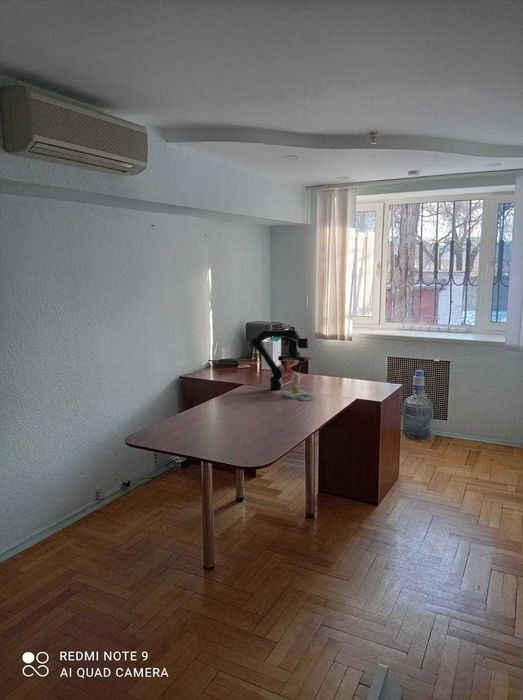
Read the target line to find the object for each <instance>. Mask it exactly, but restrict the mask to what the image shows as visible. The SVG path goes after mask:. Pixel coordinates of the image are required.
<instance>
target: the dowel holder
mask: <svg viewBox="0 0 523 700" xmlns="http://www.w3.org/2000/svg"><path fill="white" fill-rule="evenodd" d="M297 399H298V400H300V401H304V402H306V401H307V402H308V401H314V400H315V396H314V395H312V394H309V393H308V394H305V395H297V398H296V400H297Z"/></svg>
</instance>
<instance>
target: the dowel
mask: <svg viewBox="0 0 523 700" xmlns="http://www.w3.org/2000/svg"><path fill="white" fill-rule="evenodd" d="M300 378H301V374H300V373H292V374H291V390H292V394H299V390H300V385H301V384H300V383H301V381H300Z"/></svg>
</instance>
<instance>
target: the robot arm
mask: <svg viewBox="0 0 523 700" xmlns="http://www.w3.org/2000/svg"><path fill="white" fill-rule="evenodd" d="M267 337H283V338H286V339H285V340H284V341H285V342H287V345H288V346H287V353H288V354H287V355H288V356H287V355H284V354H282V355H278V357H277V361H279V362H280V363H281V364H282V366H283V368H284V370H285V372H287V370H288V368H287V367H288V364H287V362H288V361H298V362H297V371H298V373H300V372H301V368H302V367H303V364H304V363H305V362H307V361H308V357H307V356H300V355H301V352H299V351H298V348H299V349H309V339H308V338H307V337H306V338H303V337H300V336H299V334H298V331H297V329H295V328H291V329H286V330H268V329H264V330H262V332H261V333H260V334H259V335H258V336H257V337H254V338H252V339H251V340H252V341H251V345H252V346H253V347H254V348H255V349H256V350H257V351H258V352H259V353H260V354H261V355H260V356H262V358H263V360H265V362H266V364H267V365H268V367H269V368H270V371H271V373H272V376H271V377H270V378H269V379H270V382H269V383H270V388H269V391H277V392H278V391H280V390H282V383H281V379H282V378H283V377H284V375H285V373H284V370H283V368H282V366H281V365H279V366H278V365H277V364H276V363H275V361H274V359H273V358H272V357H271V355H270V354H269V352H268V350H267V349H266V348H265V347H266V346H265V344H264V342H263V341H264V340H265V339H266V338H267Z"/></svg>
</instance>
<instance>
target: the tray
mask: <svg viewBox="0 0 523 700" xmlns="http://www.w3.org/2000/svg"><path fill="white" fill-rule="evenodd" d="M305 394H308V395H309V392H308V391H304V390H301V389H299V394H292V389H291V390H283V391H282V395H283V396H285V397H287V398H290V399H297V395H305Z"/></svg>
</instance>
